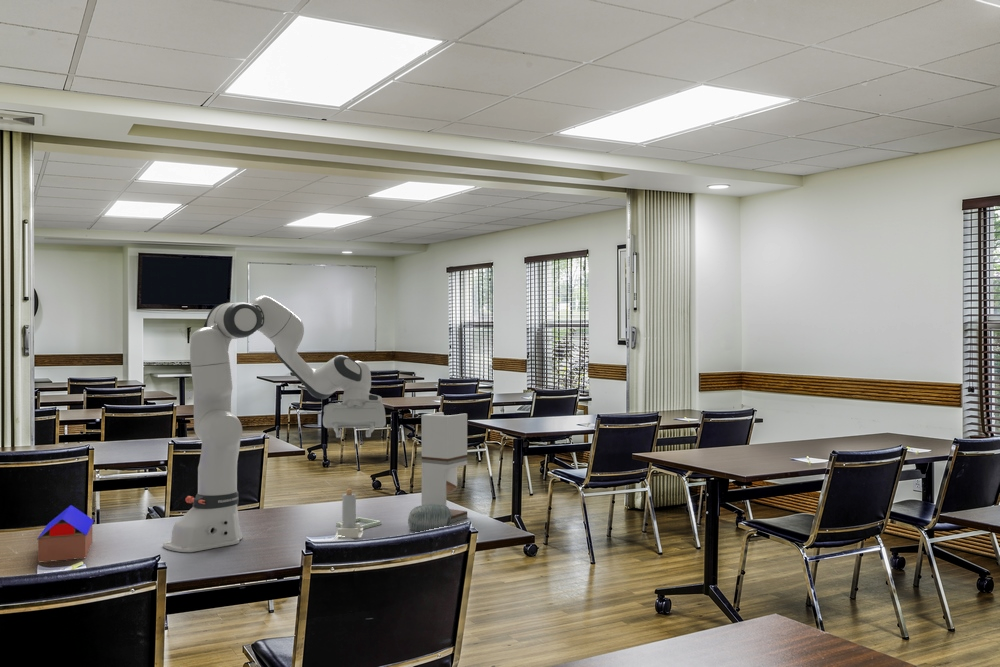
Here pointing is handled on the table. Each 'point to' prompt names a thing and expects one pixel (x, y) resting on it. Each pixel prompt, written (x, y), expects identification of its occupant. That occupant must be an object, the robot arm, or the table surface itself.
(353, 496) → the gray bottle
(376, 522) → the tray
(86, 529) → the house
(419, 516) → the grey furry rounded block
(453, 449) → the notched white block
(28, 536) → the table surface
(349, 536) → the white toy chair
